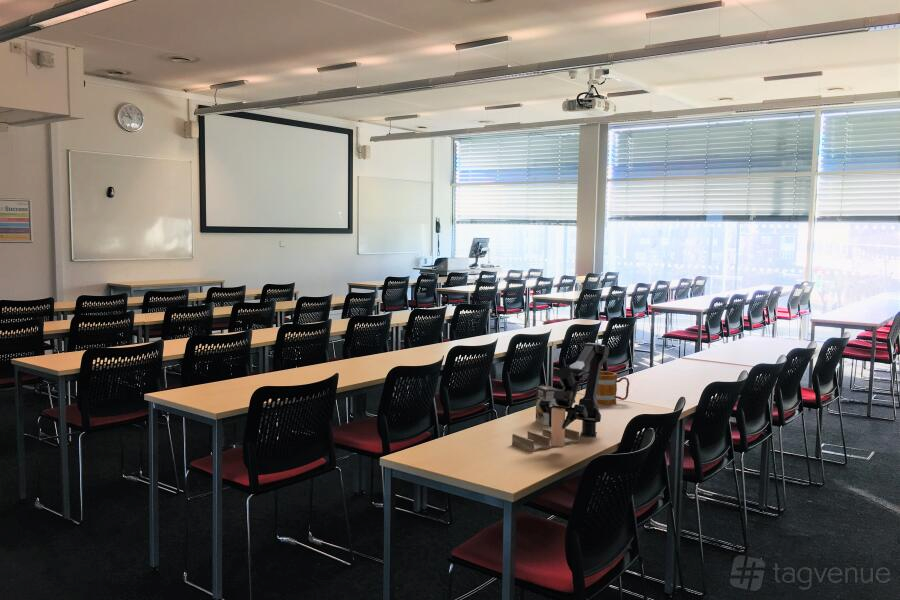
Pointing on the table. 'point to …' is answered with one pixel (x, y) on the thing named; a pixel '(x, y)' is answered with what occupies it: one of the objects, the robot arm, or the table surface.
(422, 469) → the table surface
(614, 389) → the mug
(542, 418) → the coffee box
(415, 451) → the table surface
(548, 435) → the rack
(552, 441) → the wooden block
